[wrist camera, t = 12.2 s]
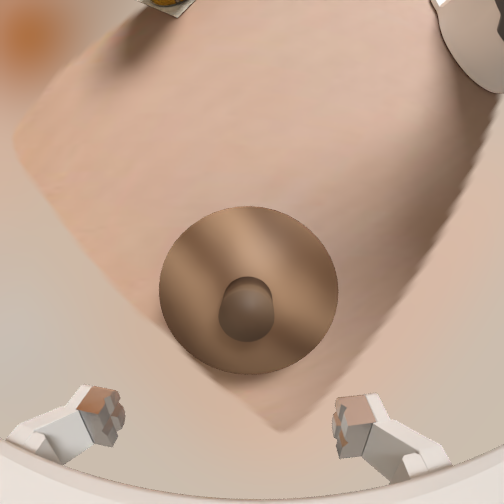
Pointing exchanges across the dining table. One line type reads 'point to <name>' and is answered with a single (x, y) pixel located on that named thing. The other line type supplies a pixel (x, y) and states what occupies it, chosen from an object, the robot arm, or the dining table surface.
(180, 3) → the condiment
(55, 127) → the dining table surface
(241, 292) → the lid
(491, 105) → the dining table surface
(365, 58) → the dining table surface
